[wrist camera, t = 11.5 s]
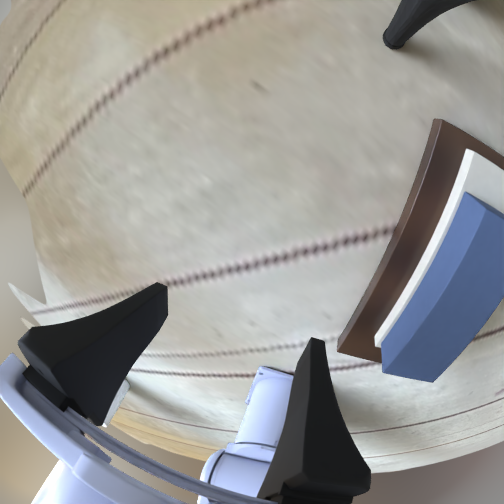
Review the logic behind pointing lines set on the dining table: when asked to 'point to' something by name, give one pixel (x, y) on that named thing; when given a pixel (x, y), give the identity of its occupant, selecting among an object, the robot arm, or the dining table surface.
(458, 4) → the high-heeled shoe
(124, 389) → the white cup
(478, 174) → the blue and white eraser
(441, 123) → the shoe shelf
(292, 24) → the dining table surface
